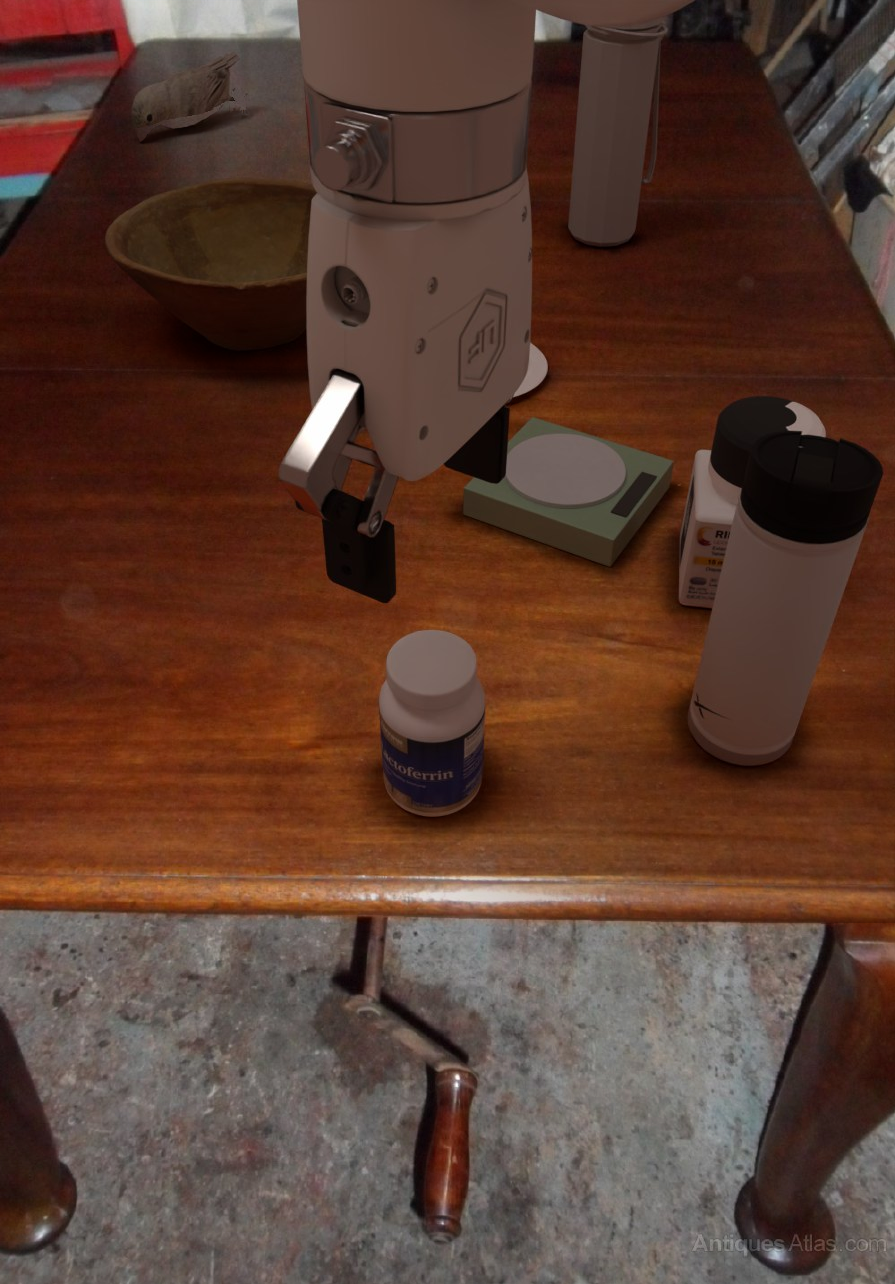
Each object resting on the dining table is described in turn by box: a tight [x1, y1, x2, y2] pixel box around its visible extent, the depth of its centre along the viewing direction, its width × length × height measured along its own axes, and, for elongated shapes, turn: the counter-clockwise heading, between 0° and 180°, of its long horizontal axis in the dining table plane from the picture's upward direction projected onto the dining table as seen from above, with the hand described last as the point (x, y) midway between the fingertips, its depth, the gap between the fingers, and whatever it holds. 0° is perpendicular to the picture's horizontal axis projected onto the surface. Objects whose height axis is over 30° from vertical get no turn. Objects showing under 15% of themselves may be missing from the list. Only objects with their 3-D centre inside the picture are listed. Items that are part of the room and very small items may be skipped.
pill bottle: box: [378, 629, 486, 817], centre depth 58 cm, size 6×6×10 cm
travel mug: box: [687, 431, 884, 767], centre depth 57 cm, size 6×7×20 cm
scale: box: [462, 416, 675, 568], centre depth 79 cm, size 12×11×3 cm
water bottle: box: [567, 16, 669, 248], centre depth 105 cm, size 9×8×25 cm
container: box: [678, 395, 827, 609], centre depth 70 cm, size 8×8×13 cm
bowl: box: [104, 177, 317, 352], centre depth 96 cm, size 22×23×10 cm
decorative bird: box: [131, 51, 248, 128], centre depth 135 cm, size 5×16×7 cm, turn 133°
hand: (421, 527), depth 48 cm, fingers open, 9 cm apart
